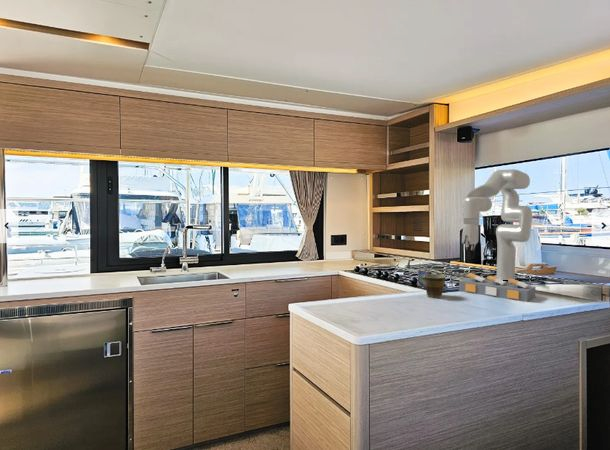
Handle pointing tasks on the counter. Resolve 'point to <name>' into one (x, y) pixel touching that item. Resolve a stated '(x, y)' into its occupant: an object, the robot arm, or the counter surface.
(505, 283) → the switch
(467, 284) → the switch box
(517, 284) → the switch
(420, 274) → the flask
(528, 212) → the robot arm
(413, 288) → the counter surface
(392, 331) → the counter surface
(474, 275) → the switch
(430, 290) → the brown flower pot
